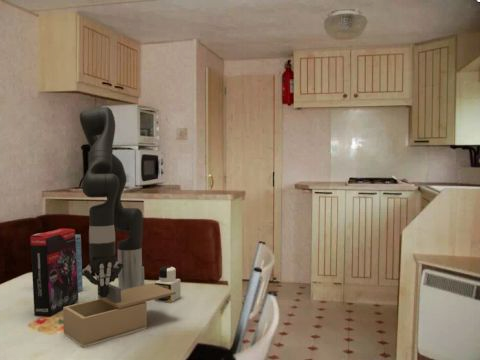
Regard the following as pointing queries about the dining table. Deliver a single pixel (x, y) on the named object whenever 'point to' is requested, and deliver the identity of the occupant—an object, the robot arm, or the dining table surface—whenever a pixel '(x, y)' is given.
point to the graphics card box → (54, 271)
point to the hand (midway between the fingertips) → (103, 297)
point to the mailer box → (102, 321)
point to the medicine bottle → (169, 283)
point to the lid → (135, 295)
